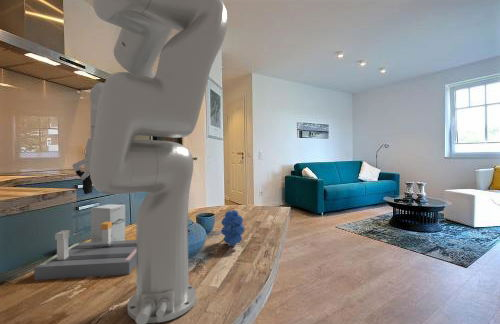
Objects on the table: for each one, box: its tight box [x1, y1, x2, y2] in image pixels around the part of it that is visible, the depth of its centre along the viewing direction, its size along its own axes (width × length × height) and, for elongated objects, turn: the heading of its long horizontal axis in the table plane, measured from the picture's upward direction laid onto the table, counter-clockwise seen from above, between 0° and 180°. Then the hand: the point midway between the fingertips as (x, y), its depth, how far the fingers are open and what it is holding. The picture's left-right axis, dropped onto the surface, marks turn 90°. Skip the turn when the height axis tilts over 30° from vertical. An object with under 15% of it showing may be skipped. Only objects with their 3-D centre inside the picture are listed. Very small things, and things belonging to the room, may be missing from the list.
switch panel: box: [33, 229, 137, 281], centre depth 66 cm, size 17×21×10 cm
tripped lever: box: [100, 222, 113, 246], centre depth 70 cm, size 3×2×6 cm
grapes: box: [220, 209, 245, 247], centre depth 79 cm, size 12×7×12 cm, turn 38°
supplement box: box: [90, 203, 126, 242], centre depth 81 cm, size 7×7×13 cm
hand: (106, 193), depth 70 cm, fingers open, 9 cm apart
